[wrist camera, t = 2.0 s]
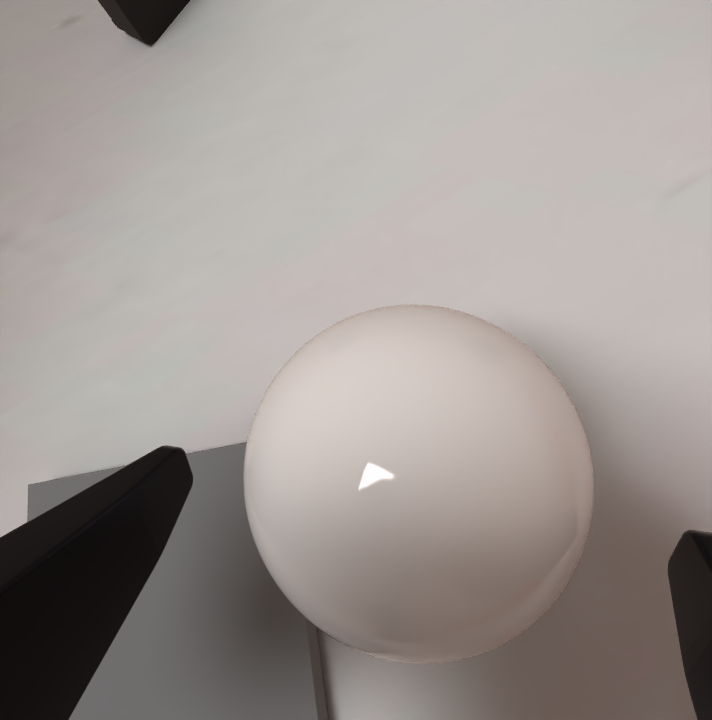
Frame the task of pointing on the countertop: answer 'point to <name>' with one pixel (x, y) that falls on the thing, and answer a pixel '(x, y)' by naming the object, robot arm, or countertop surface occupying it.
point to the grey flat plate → (203, 617)
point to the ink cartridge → (143, 16)
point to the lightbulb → (418, 484)
